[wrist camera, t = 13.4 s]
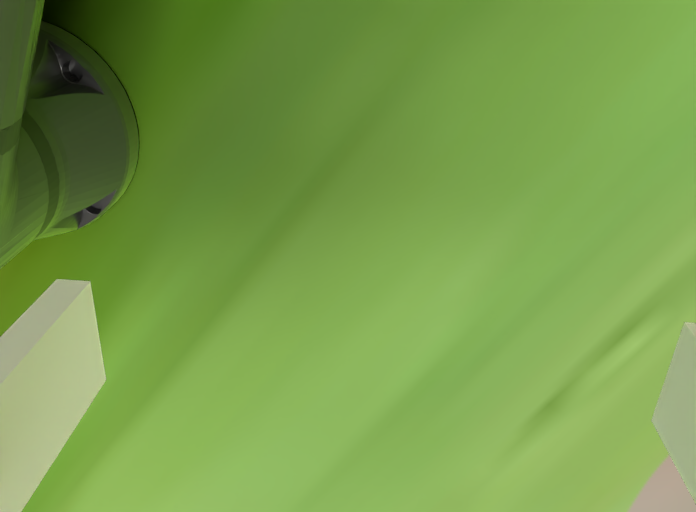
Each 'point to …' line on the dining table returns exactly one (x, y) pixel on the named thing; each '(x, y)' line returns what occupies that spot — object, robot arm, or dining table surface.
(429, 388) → the dining table surface
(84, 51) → the robot arm
